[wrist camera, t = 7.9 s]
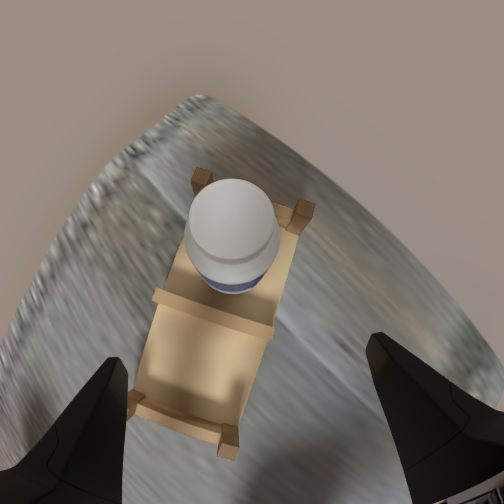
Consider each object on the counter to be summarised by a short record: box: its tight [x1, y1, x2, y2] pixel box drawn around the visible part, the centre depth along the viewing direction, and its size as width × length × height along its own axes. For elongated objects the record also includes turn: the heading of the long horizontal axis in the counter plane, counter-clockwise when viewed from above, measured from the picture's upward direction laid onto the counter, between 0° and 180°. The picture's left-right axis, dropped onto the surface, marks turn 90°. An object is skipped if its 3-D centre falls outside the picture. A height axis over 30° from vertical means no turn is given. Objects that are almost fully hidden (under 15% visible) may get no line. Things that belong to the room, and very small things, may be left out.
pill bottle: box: [184, 179, 280, 294], centre depth 17 cm, size 5×5×10 cm
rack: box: [126, 167, 315, 460], centre depth 19 cm, size 9×19×5 cm, turn 162°
